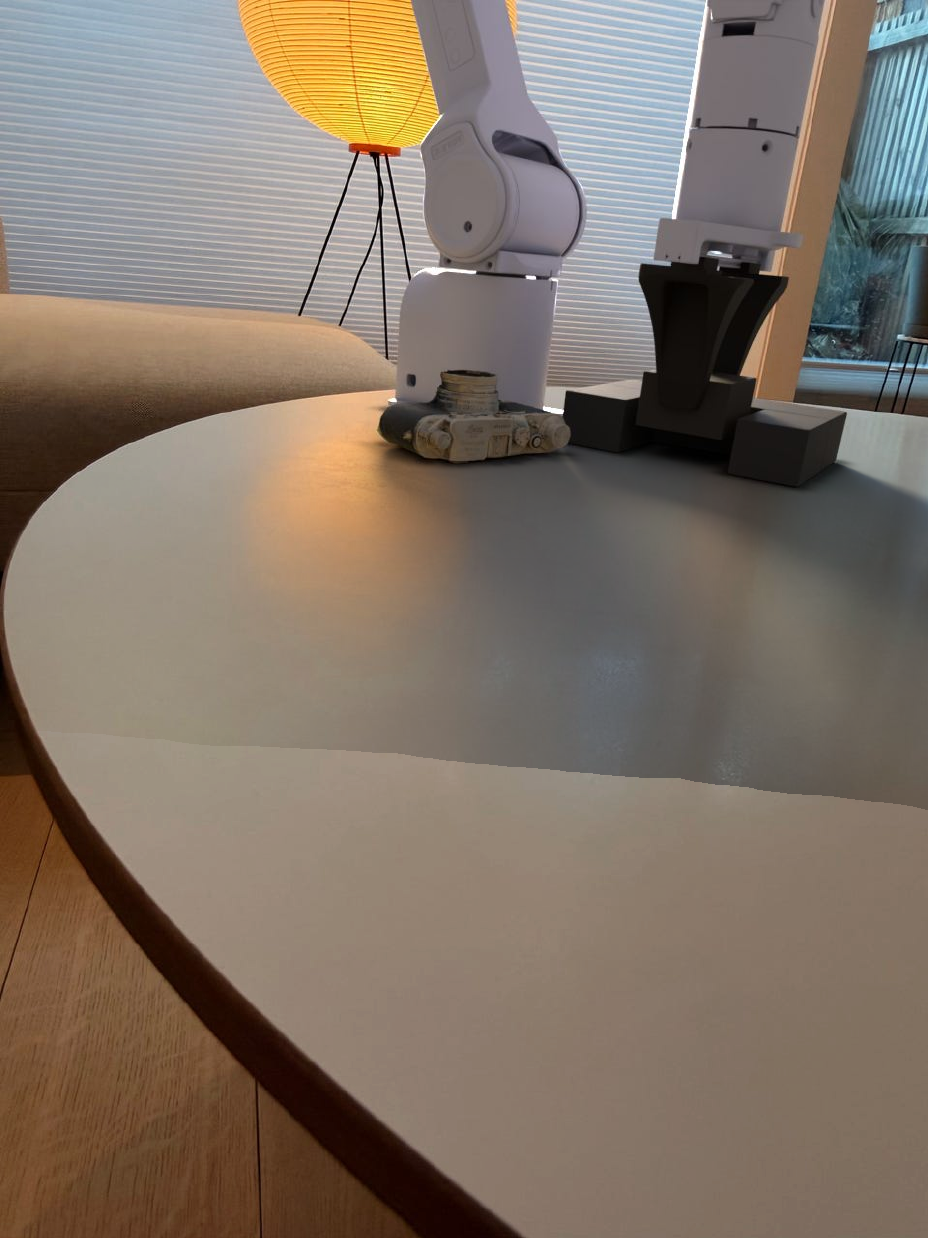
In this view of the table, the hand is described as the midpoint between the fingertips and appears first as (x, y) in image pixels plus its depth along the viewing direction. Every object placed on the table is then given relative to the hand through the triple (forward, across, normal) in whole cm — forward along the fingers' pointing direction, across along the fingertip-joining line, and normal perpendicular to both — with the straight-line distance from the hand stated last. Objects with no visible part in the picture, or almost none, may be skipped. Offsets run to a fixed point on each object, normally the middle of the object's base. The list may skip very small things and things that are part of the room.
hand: (694, 403), depth 53 cm
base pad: (+3, +2, 0) cm, 4 cm away
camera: (+3, -9, +9) cm, 13 cm away
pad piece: (+1, 0, 0) cm, 1 cm away
